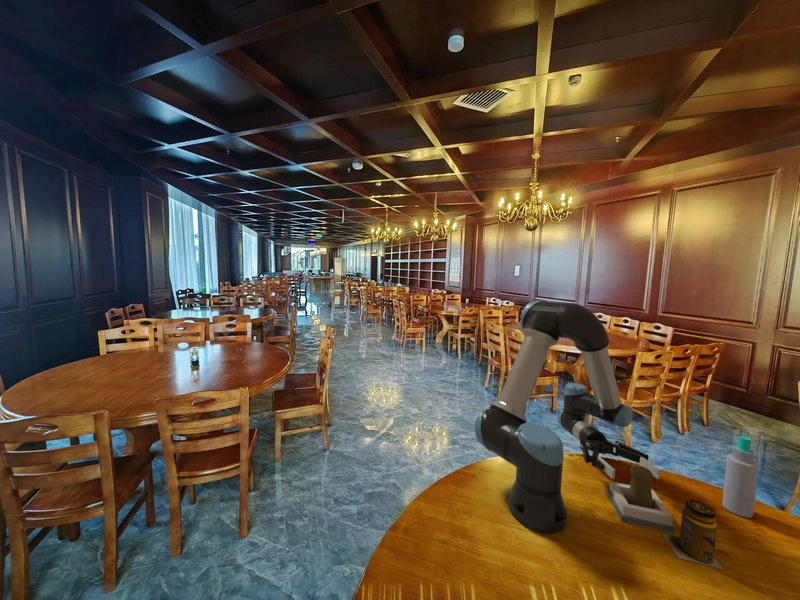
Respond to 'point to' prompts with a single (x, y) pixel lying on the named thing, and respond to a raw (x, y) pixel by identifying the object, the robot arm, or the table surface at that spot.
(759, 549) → the table surface
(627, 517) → the collar holder
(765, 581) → the table surface
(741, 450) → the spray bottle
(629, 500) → the cork
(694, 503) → the condiment
